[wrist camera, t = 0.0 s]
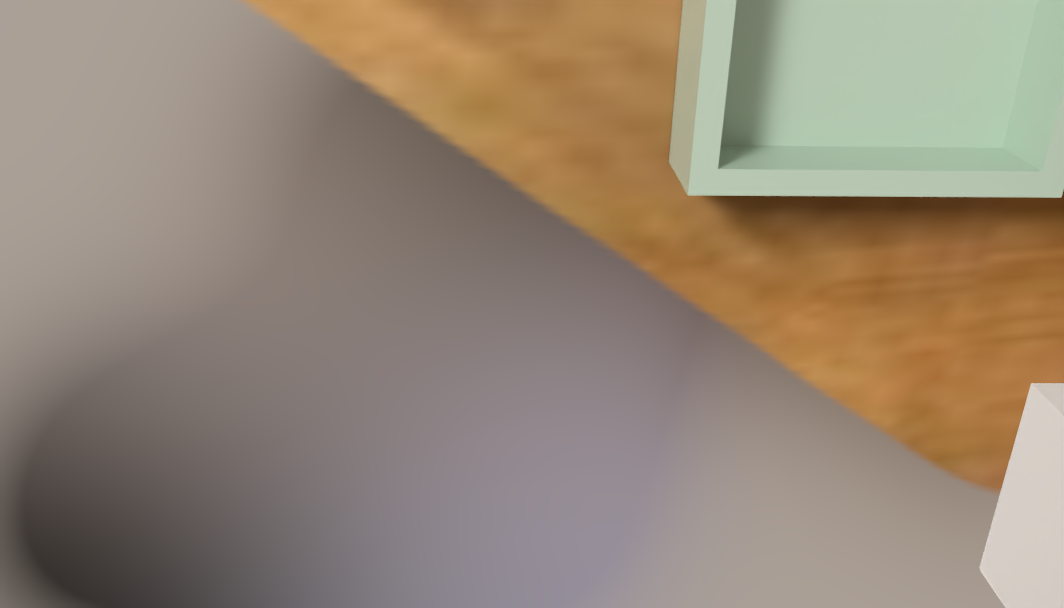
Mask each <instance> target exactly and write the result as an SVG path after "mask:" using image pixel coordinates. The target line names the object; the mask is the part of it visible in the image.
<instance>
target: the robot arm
mask: <svg viewBox="0 0 1064 608" xmlns="http://www.w3.org/2000/svg"><path fill="white" fill-rule="evenodd" d="M979 569H980V571H981V572H982V574H983V575H984V577H985V578H986V580H987V581H988V582H989V584H990V586H991V587H992V589H993V590H994V591H995V593H996V594H997V596H998V598H999V599H1000V600H1001V602H1002V603H1003V605H1004V606H1005V608H1064V383H1031V386H1030V390H1029V393H1028V397H1027V401H1026V404H1025V408H1024V411H1023V415H1022V418H1021V422H1020V425H1019V429H1018V432H1017V436H1016V440H1015V443H1014V447H1013V450H1012V454H1011V457H1010V461H1009V464H1008V468H1007V471H1006V475H1005V479H1004V482H1003V486H1002V489H1001V493H1000V496H999V500H998V504H997V507H996V511H995V514H994V518H993V521H992V525H991V528H990V532H989V535H988V539H987V543H986V546H985V550H984V553H983V557H982V560H981V564H980V567H979Z"/></svg>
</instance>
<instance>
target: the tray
mask: <svg viewBox="0 0 1064 608" xmlns="http://www.w3.org/2000/svg"><path fill="white" fill-rule="evenodd" d="M669 163H670V165H671V167H672V168H673V170H674V172H675V174H676V175H677V177H678V179H679V181H680V182H681V184H682V186H683V188H684V189H685V191H686V193H687V195H714V196H879V197H1044V198H1061V197H1062V194H1063V190H1064V0H683V5H682V17H681V28H680V40H679V52H678V63H677V75H676V86H675V98H674V109H673V121H672V133H671V144H670V156H669Z"/></svg>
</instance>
